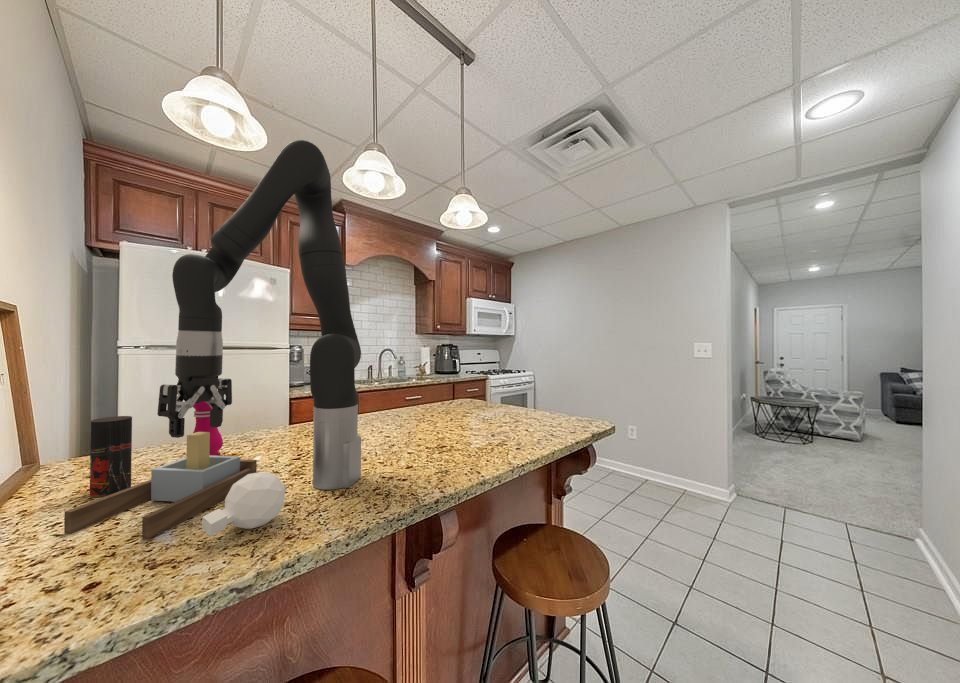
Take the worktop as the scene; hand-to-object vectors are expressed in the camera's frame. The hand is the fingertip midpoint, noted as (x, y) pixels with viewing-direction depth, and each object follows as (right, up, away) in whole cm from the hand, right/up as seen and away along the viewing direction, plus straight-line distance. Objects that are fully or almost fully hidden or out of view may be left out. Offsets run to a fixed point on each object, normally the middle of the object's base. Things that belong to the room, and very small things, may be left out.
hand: (197, 431), depth 71 cm
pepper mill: (-13, -13, +18) cm, 26 cm away
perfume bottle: (+19, -13, -13) cm, 26 cm away
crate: (0, -12, 0) cm, 12 cm away
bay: (0, -13, -5) cm, 14 cm away
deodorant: (-19, -13, +1) cm, 23 cm away
